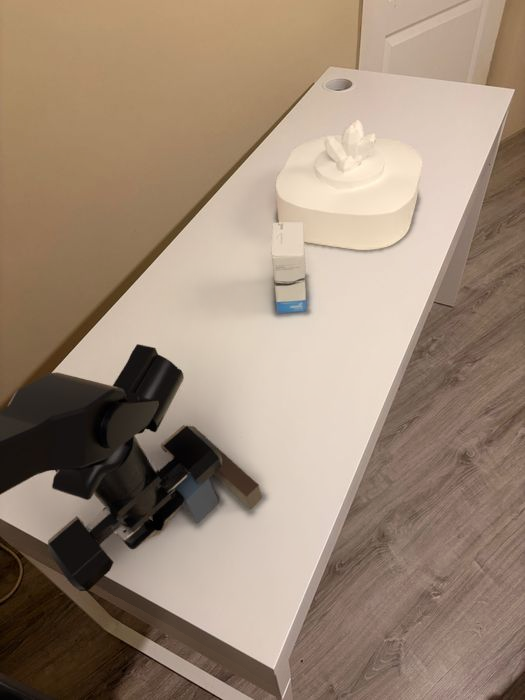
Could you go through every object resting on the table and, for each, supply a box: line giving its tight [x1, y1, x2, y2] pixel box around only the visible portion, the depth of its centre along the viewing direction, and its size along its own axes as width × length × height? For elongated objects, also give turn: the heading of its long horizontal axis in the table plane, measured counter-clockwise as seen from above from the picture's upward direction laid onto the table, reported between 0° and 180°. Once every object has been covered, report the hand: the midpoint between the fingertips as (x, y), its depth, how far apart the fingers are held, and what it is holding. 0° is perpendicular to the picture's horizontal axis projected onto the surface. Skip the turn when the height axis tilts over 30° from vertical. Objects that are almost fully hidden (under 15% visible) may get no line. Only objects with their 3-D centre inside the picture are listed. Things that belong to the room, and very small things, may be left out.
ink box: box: [270, 221, 307, 314], centre depth 78 cm, size 8×5×12 cm, turn 179°
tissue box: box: [275, 118, 424, 251], centre depth 90 cm, size 25×25×16 cm
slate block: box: [175, 469, 220, 524], centre depth 59 cm, size 7×5×8 cm
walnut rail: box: [192, 425, 262, 511], centre depth 62 cm, size 2×12×4 cm, turn 46°
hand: (159, 528), depth 58 cm, fingers closed
